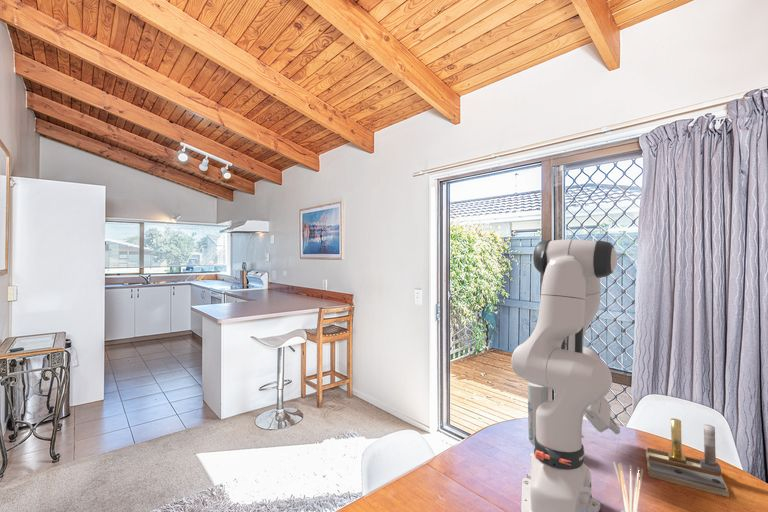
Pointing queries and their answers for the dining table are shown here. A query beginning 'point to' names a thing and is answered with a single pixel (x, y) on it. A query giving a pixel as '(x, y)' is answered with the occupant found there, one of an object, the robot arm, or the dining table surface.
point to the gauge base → (690, 467)
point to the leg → (676, 442)
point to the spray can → (535, 406)
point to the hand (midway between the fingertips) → (618, 431)
